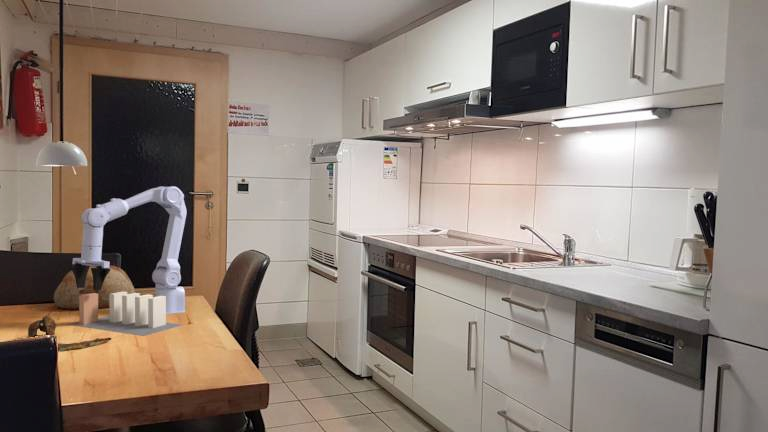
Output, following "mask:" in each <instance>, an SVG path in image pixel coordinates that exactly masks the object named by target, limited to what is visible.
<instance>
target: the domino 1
mask: <svg viewBox="0 0 768 432" xmlns="http://www.w3.org/2000/svg"><path fill="white" fill-rule="evenodd" d="M78 311H79V312H78V313H79V316H78V317H79V318H78V319H79V320H78V323H79V324H81V325H86V324H90V323H94V322H98V318H99V308H98V294H97V293H92V294H86V295H80V296H79V309H78Z"/></svg>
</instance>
